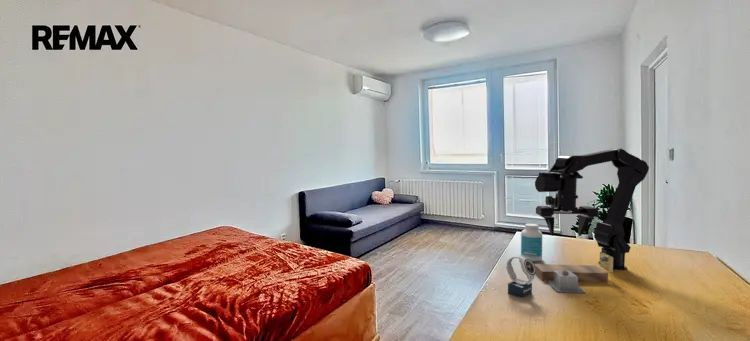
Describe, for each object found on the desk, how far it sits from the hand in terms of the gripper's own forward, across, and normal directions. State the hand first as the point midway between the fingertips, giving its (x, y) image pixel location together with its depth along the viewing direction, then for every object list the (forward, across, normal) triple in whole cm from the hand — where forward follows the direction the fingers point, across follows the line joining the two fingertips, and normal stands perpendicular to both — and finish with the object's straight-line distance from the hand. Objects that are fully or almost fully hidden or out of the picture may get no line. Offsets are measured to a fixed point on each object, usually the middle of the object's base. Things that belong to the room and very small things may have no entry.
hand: (565, 235), depth 118 cm
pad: (+12, +7, +16) cm, 22 cm away
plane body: (+12, +2, +8) cm, 15 cm away
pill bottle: (+12, +8, -10) cm, 18 cm away
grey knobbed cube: (+12, +7, +16) cm, 21 cm away
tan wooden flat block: (+9, -9, +8) cm, 15 cm away
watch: (+12, +22, +22) cm, 33 cm away
